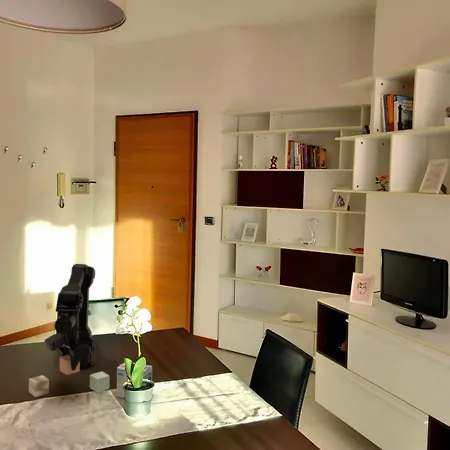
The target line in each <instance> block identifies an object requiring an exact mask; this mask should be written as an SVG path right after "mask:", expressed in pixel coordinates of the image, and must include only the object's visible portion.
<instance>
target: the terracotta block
mask: <svg viewBox="0 0 450 450" xmlns="http://www.w3.org/2000/svg"><path fill="white" fill-rule="evenodd" d="M80 371H81V369H80V361H79V363H78V365H77V367H76V369H75V370H73V371H72V369H71V361H70V356H68V355H65V356H61V355H60V356H59V372H61V373H62V374H65V375H66V376H67V375H71V374H75V373H79V372H80Z"/></svg>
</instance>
